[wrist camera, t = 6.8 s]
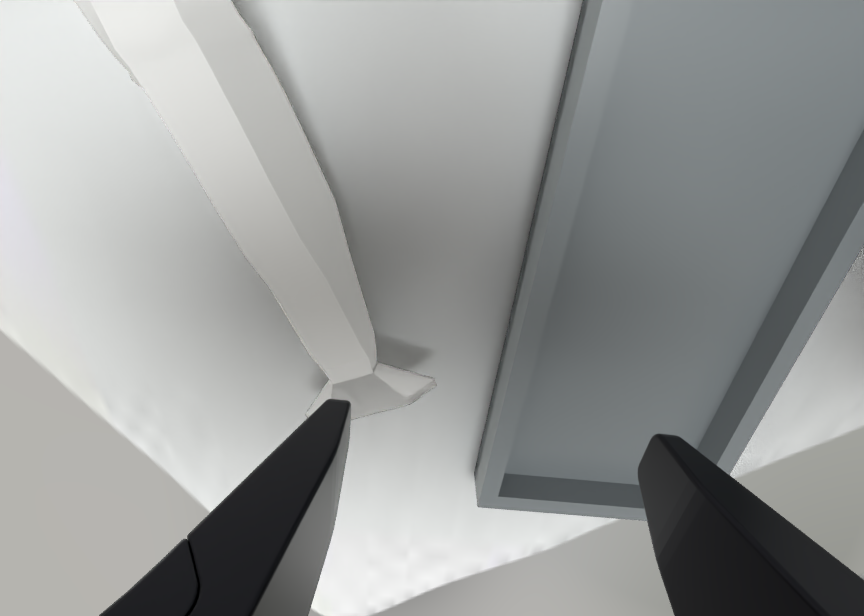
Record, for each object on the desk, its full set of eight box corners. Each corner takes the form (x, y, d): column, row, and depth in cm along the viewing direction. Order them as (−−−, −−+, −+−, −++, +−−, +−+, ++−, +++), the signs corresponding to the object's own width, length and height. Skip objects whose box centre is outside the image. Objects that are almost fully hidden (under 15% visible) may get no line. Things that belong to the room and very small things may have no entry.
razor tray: (969, -54, 14) (1044, -66, 12) (681, 490, 25) (699, 525, 23) (609, -113, 14) (635, -134, 12) (474, 473, 24) (477, 507, 23)
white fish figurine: (222, -173, 13) (146, -247, 10) (438, 362, 21) (440, 426, 18) (49, -89, 14) (-78, -128, 10) (322, 394, 22) (302, 461, 19)
